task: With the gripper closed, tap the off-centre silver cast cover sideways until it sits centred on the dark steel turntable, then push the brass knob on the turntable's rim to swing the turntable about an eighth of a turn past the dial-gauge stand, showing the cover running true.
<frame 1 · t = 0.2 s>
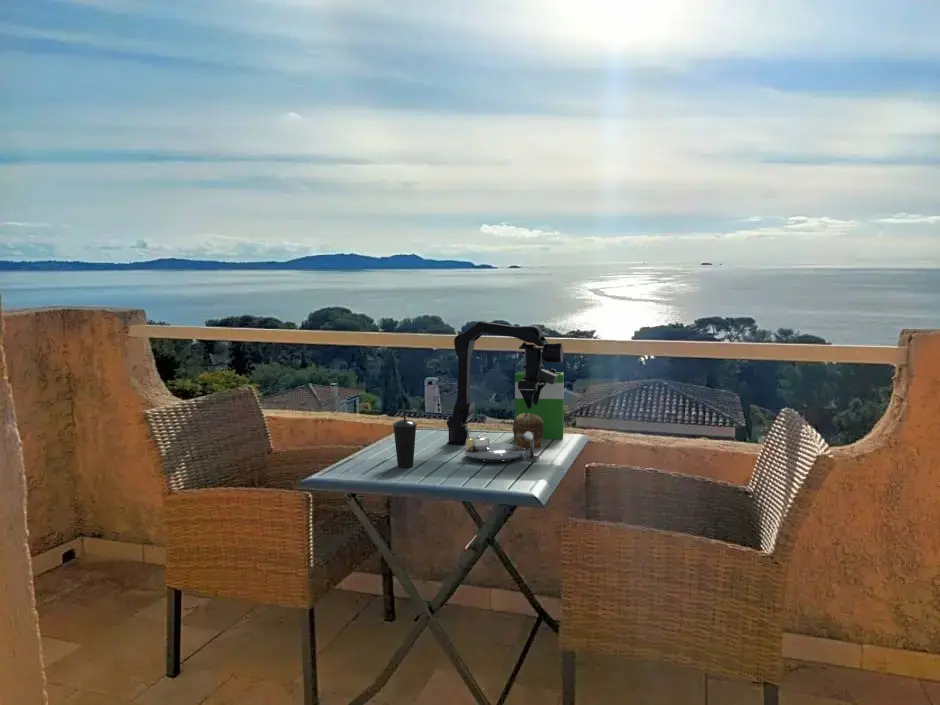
hand: (532, 406, 257), 14 cm above the table, tool pointing down, fingers open, 9 cm apart
drinking cup: (405, 466, 233), on the table
shell: (528, 447, 259), on the table
turntable base: (494, 457, 243), on the table
hardback book: (539, 437, 278), on the table
cover: (478, 448, 245), point 3 cm above the table, touching platter
dial stand: (531, 460, 240), on the table
platter: (494, 445, 243), point 4 cm above the table, hinge at 0.0°, touching cover
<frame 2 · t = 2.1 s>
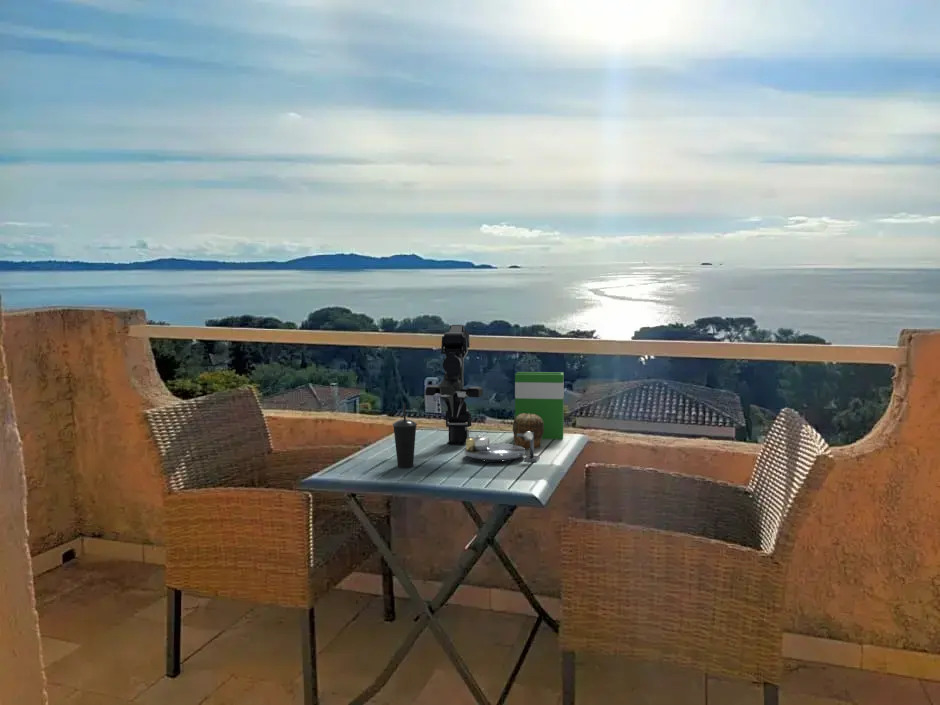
hand: (454, 416, 247), 13 cm above the table, tool pointing down, fingers closed
nothing on the table moved.
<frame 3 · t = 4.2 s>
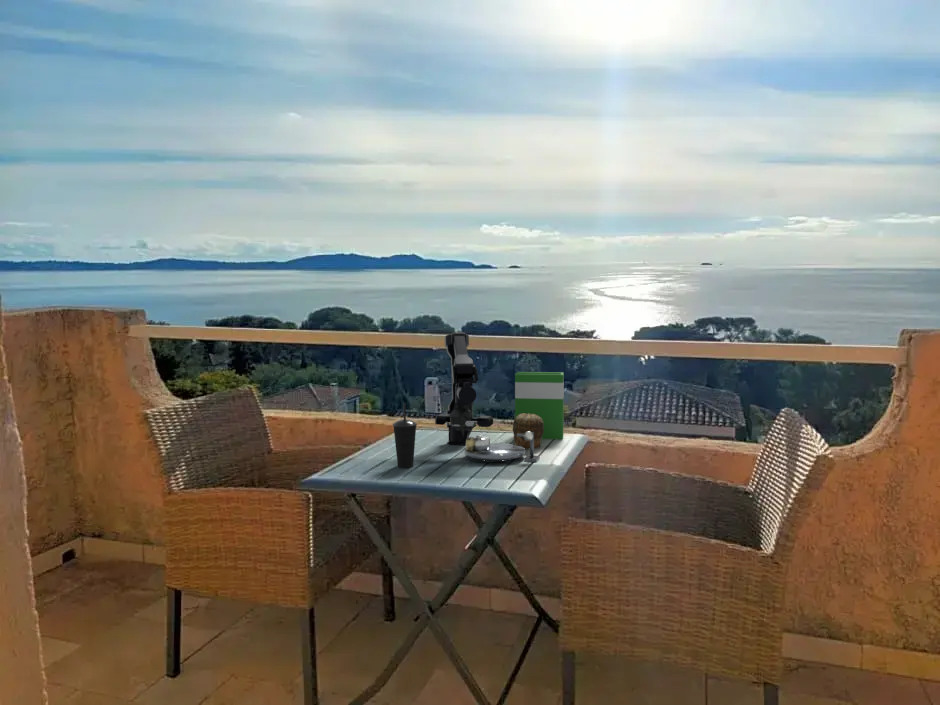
hand: (464, 445, 246), 3 cm above the table, tool pointing down, fingers closed
cover: (479, 448, 245), point 3 cm above the table, touching gripper, platter
everything else where it was.
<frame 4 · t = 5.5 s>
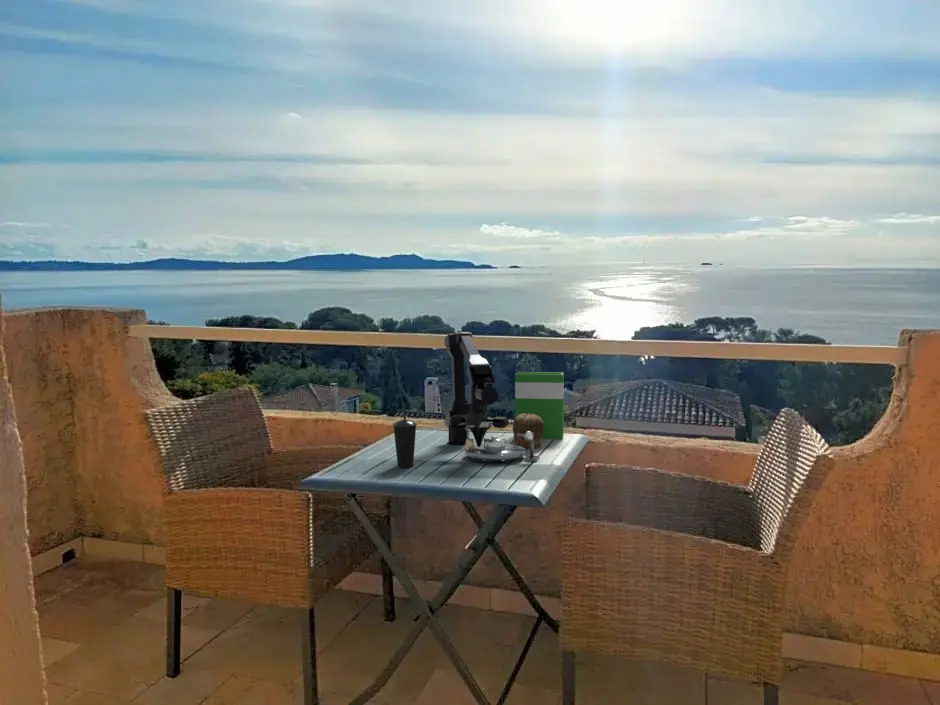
hand: (479, 446, 245), 3 cm above the table, tool pointing down, fingers closed
cover: (494, 449, 243), point 3 cm above the table, touching gripper, platter
platter: (494, 445, 243), point 4 cm above the table, hinge at -0.4°, touching cover
everything else where it was.
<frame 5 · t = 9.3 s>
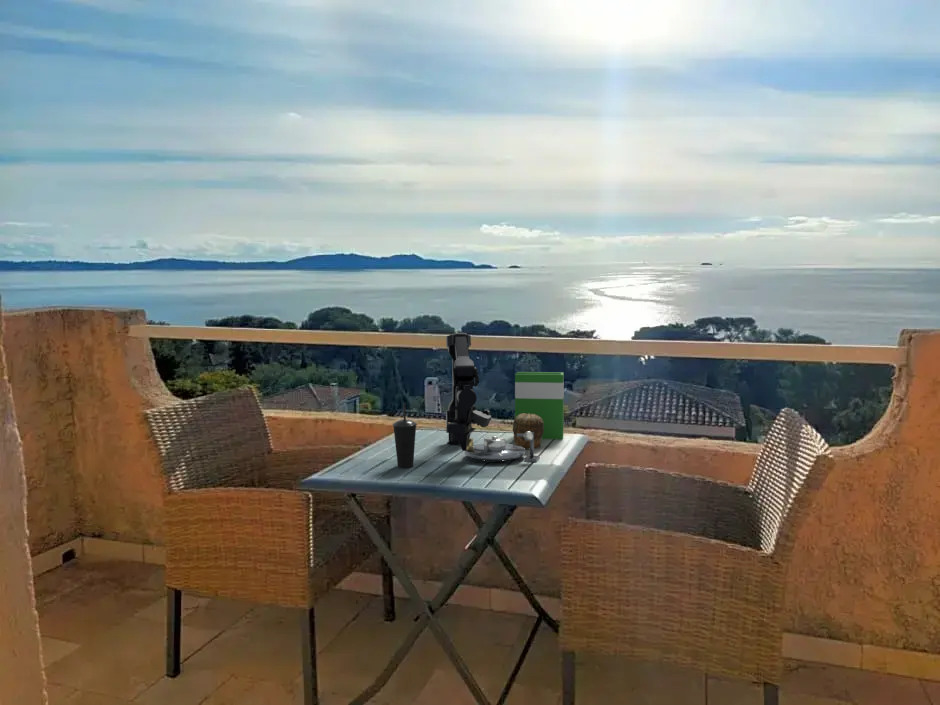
hand: (464, 450, 239), 3 cm above the table, tool pointing down, fingers closed
cover: (494, 449, 243), point 3 cm above the table, touching platter
platter: (494, 445, 243), point 4 cm above the table, hinge at 1.7°, touching cover, gripper
everything else where it was.
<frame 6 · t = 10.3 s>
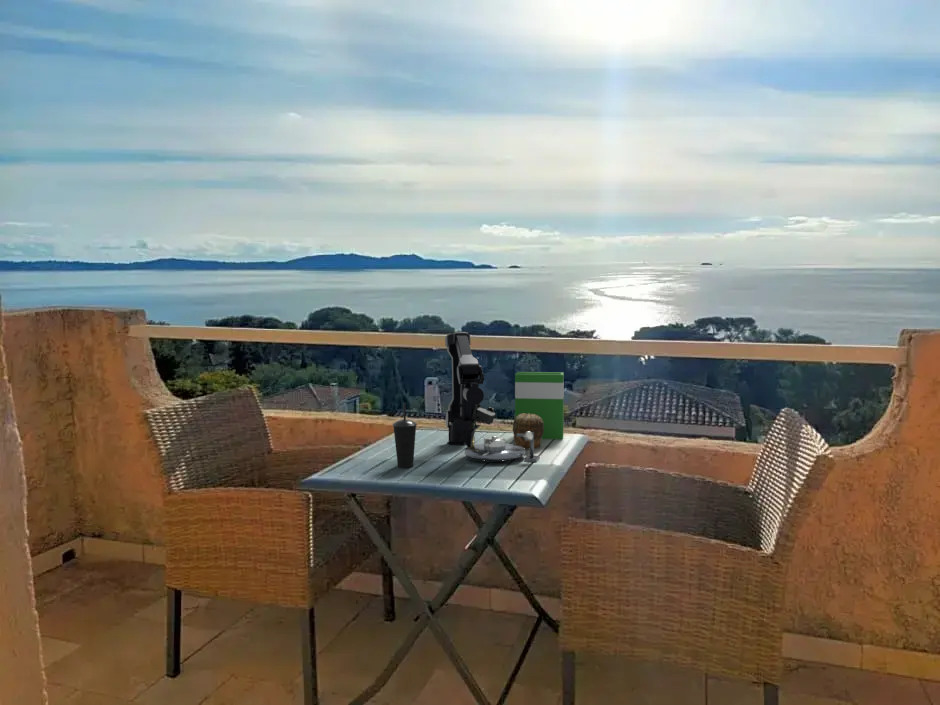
hand: (469, 447, 243), 4 cm above the table, tool pointing down, fingers closed
platter: (494, 445, 243), point 4 cm above the table, hinge at 37.4°, touching cover, gripper
everything else where it was.
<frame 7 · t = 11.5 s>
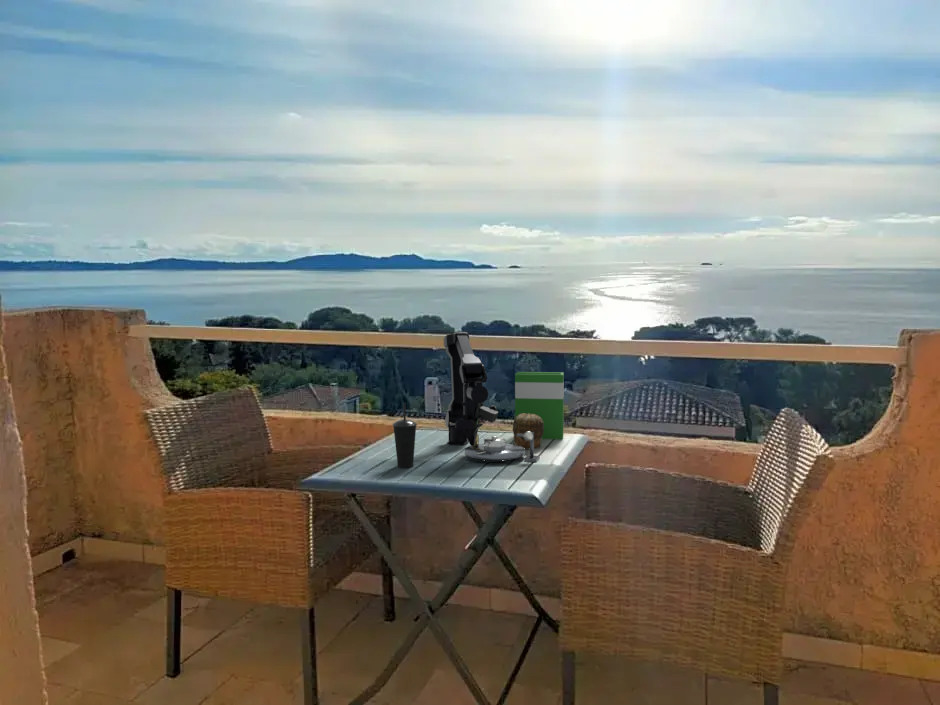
hand: (472, 445, 246), 4 cm above the table, tool pointing down, fingers closed
platter: (494, 445, 243), point 4 cm above the table, hinge at 55.7°, touching cover, gripper
everything else where it was.
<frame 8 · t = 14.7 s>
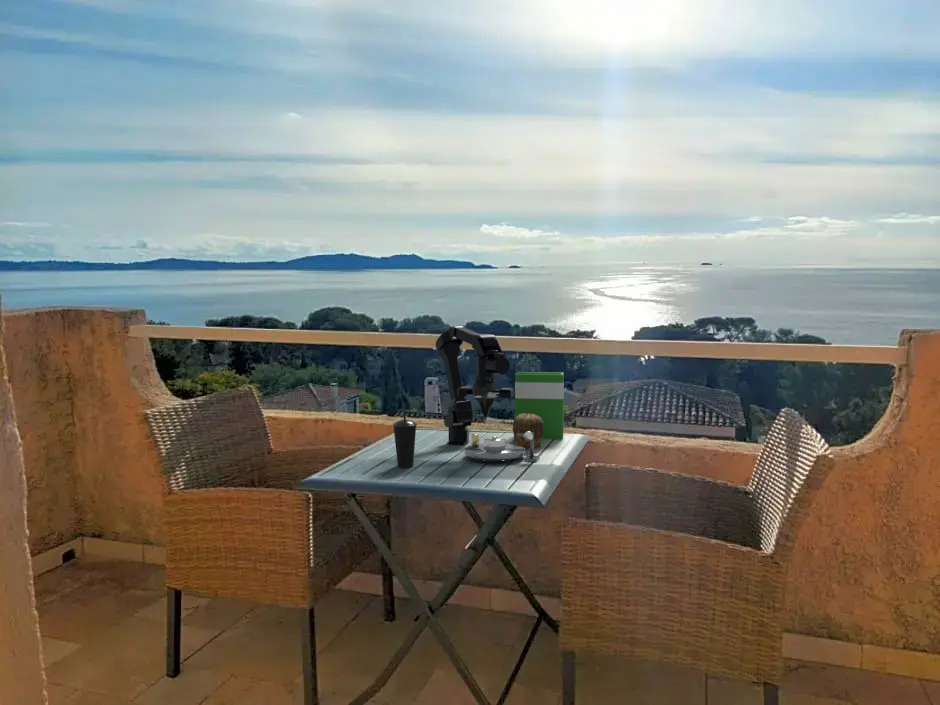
hand: (485, 417, 251), 12 cm above the table, tool pointing down, fingers closed
platter: (494, 445, 243), point 4 cm above the table, hinge at 55.8°, touching cover
everything else where it was.
at the end: cover 0.0 cm from the platter (horizontally); platter at +56° (first picture: +0°); cover tilted 0° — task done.
